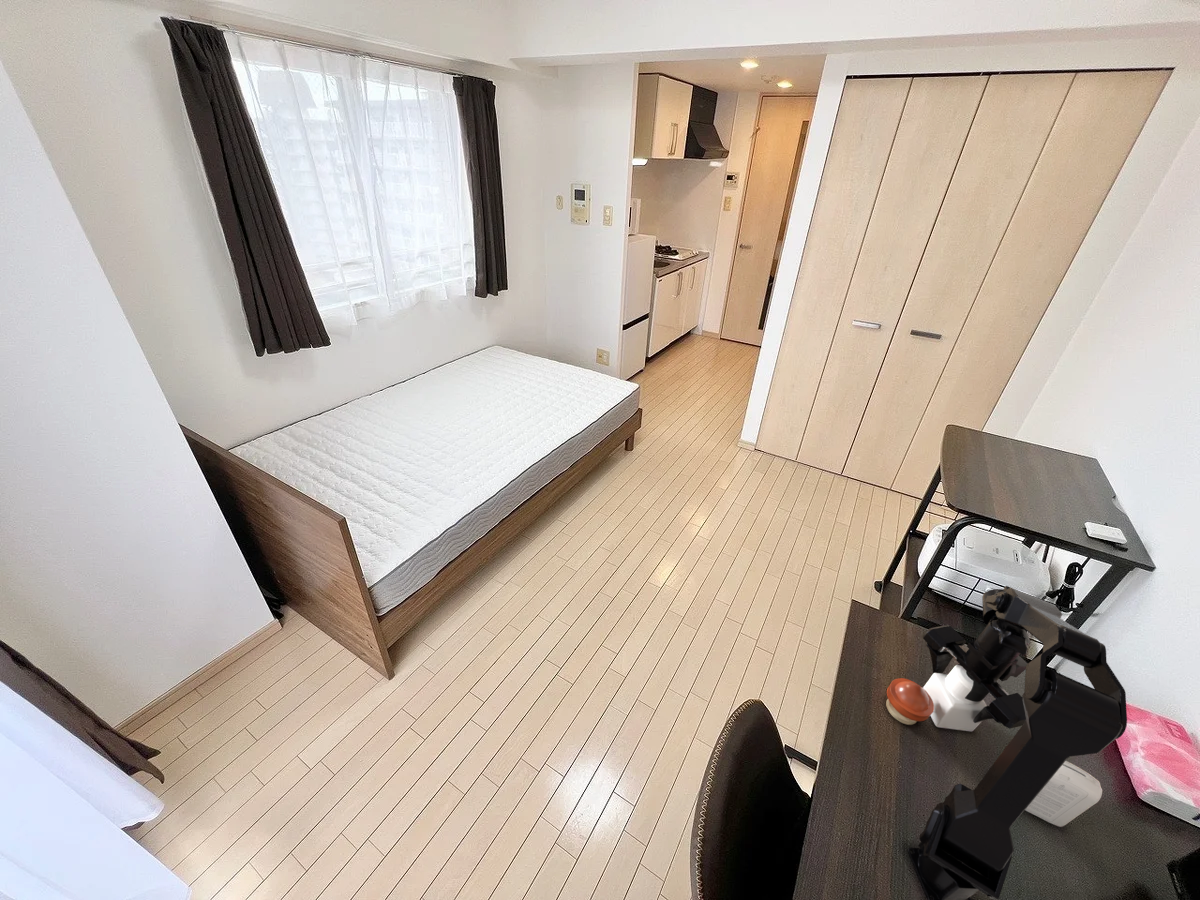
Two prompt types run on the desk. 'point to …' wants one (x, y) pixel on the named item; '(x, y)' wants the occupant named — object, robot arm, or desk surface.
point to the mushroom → (908, 701)
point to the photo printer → (1066, 795)
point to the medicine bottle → (956, 699)
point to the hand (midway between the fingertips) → (955, 698)
